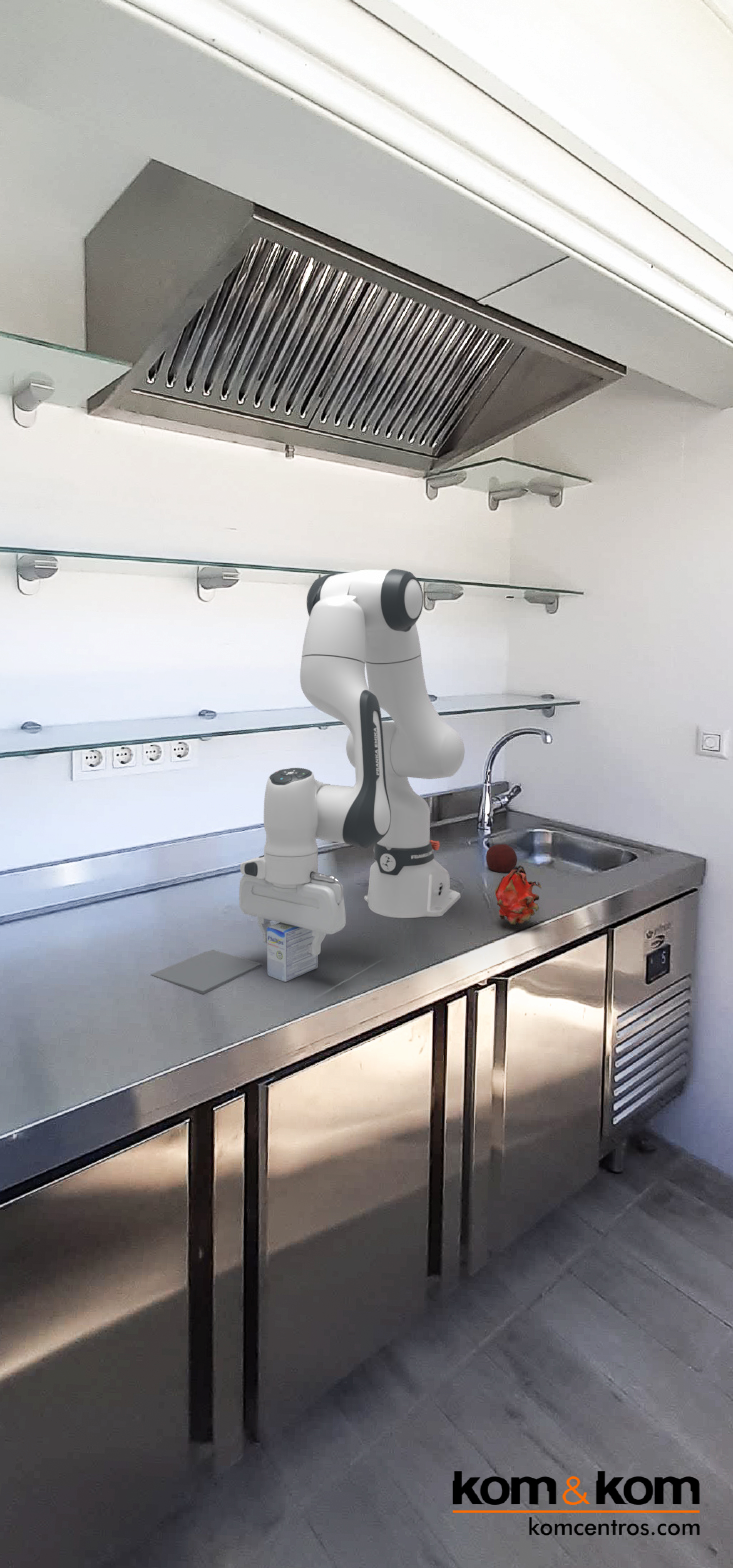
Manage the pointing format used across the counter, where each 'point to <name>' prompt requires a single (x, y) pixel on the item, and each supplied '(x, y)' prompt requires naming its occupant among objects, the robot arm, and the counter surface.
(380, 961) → the counter surface
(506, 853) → the dark brown ball
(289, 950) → the medicine box
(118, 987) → the counter surface
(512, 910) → the dragon fruit
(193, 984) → the mat
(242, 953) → the counter surface
